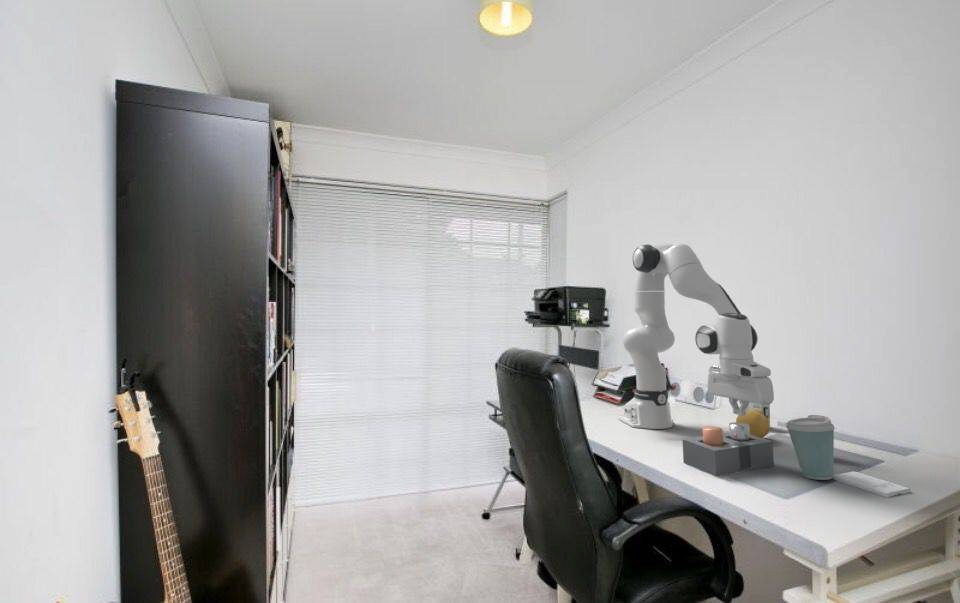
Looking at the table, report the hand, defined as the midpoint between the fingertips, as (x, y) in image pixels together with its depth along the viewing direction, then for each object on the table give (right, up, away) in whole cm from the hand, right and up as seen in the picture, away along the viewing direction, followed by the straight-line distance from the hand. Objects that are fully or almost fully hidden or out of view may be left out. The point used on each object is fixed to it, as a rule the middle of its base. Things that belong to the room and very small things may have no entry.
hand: (739, 414), depth 133 cm
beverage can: (+25, -13, +1) cm, 28 cm away
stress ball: (+17, -14, +21) cm, 30 cm away
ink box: (+27, -14, +36) cm, 47 cm away
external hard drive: (+22, -14, -20) cm, 32 cm away
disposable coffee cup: (+13, -13, -13) cm, 23 cm away
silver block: (0, -10, 0) cm, 10 cm away
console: (-4, -14, -2) cm, 15 cm away
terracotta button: (-9, -10, -3) cm, 14 cm away
